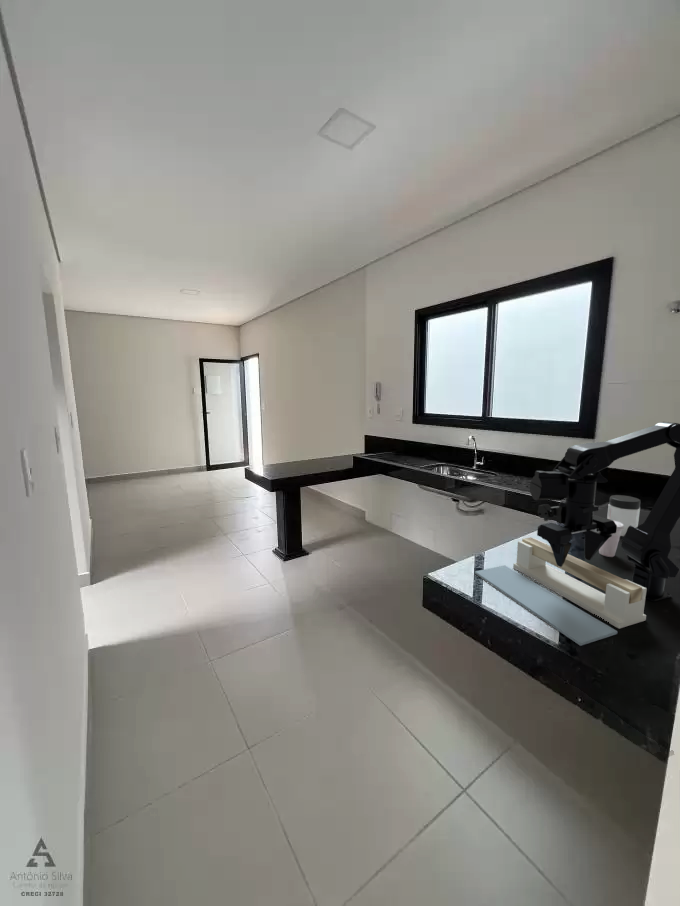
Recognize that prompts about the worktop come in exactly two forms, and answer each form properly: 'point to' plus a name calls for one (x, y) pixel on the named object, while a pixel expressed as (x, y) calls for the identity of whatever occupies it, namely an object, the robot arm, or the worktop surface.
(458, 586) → the worktop surface
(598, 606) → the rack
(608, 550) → the smoothie
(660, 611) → the worktop surface
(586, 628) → the mat
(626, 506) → the jar
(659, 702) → the worktop surface
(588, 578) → the rail
